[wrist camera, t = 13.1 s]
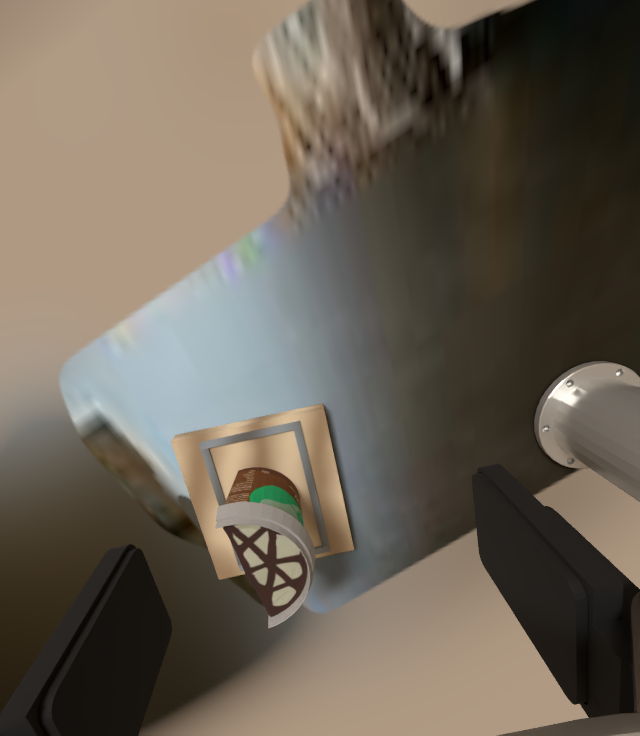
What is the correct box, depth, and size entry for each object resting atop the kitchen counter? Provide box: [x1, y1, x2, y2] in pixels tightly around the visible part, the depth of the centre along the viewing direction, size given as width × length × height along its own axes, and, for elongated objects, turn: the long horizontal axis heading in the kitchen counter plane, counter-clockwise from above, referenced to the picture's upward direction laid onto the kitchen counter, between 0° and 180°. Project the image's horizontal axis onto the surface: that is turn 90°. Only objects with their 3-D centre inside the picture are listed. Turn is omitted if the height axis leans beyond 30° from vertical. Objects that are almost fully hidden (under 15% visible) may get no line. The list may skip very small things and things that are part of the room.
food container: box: [216, 467, 316, 628], centre depth 35 cm, size 12×6×10 cm, turn 20°
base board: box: [171, 404, 354, 579], centre depth 41 cm, size 16×18×2 cm
